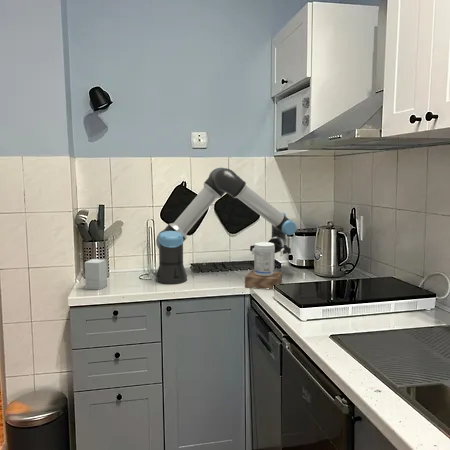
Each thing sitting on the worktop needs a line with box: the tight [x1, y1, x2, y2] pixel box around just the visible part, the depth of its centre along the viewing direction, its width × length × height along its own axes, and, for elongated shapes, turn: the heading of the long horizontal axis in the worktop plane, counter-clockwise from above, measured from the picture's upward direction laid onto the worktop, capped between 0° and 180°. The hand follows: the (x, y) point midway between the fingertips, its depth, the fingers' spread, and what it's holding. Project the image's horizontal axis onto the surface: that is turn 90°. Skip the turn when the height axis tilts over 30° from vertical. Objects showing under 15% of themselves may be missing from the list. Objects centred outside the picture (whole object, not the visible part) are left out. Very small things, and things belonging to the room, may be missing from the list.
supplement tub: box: [253, 241, 276, 276], centre depth 219 cm, size 10×10×15 cm
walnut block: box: [244, 269, 283, 290], centre depth 221 cm, size 15×14×5 cm
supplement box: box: [84, 258, 108, 291], centre depth 214 cm, size 7×7×13 cm
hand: (267, 252), depth 222 cm, fingers open, 13 cm apart
